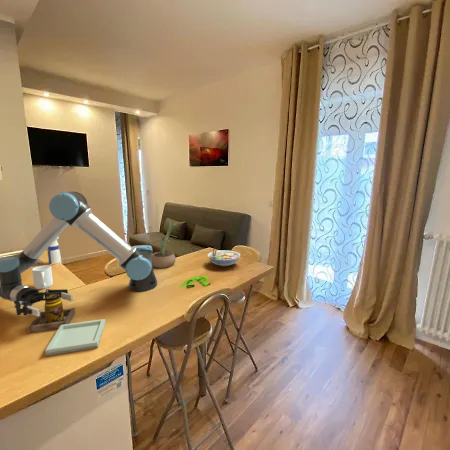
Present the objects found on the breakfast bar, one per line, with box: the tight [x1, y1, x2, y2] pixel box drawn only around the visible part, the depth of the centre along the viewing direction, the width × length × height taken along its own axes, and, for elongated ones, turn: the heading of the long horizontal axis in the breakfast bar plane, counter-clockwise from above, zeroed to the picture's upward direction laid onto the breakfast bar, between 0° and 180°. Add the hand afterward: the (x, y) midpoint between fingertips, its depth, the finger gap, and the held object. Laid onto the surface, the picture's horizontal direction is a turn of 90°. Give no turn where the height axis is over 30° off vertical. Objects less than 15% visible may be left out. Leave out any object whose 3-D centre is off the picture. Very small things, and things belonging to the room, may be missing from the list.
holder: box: [27, 307, 76, 334], centre depth 107 cm, size 13×12×2 cm
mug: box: [31, 264, 54, 290], centre depth 142 cm, size 9×12×11 cm
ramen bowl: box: [207, 248, 241, 267], centre depth 179 cm, size 25×23×8 cm
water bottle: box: [47, 236, 62, 265], centre depth 181 cm, size 8×9×25 cm
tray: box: [44, 318, 106, 357], centre depth 97 cm, size 16×16×2 cm
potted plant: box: [152, 220, 181, 269], centre depth 179 cm, size 22×18×30 cm
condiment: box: [41, 293, 67, 324], centre depth 107 cm, size 7×8×12 cm
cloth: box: [179, 275, 211, 289], centre depth 147 cm, size 20×22×2 cm
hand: (56, 305), depth 105 cm, fingers open, 13 cm apart
